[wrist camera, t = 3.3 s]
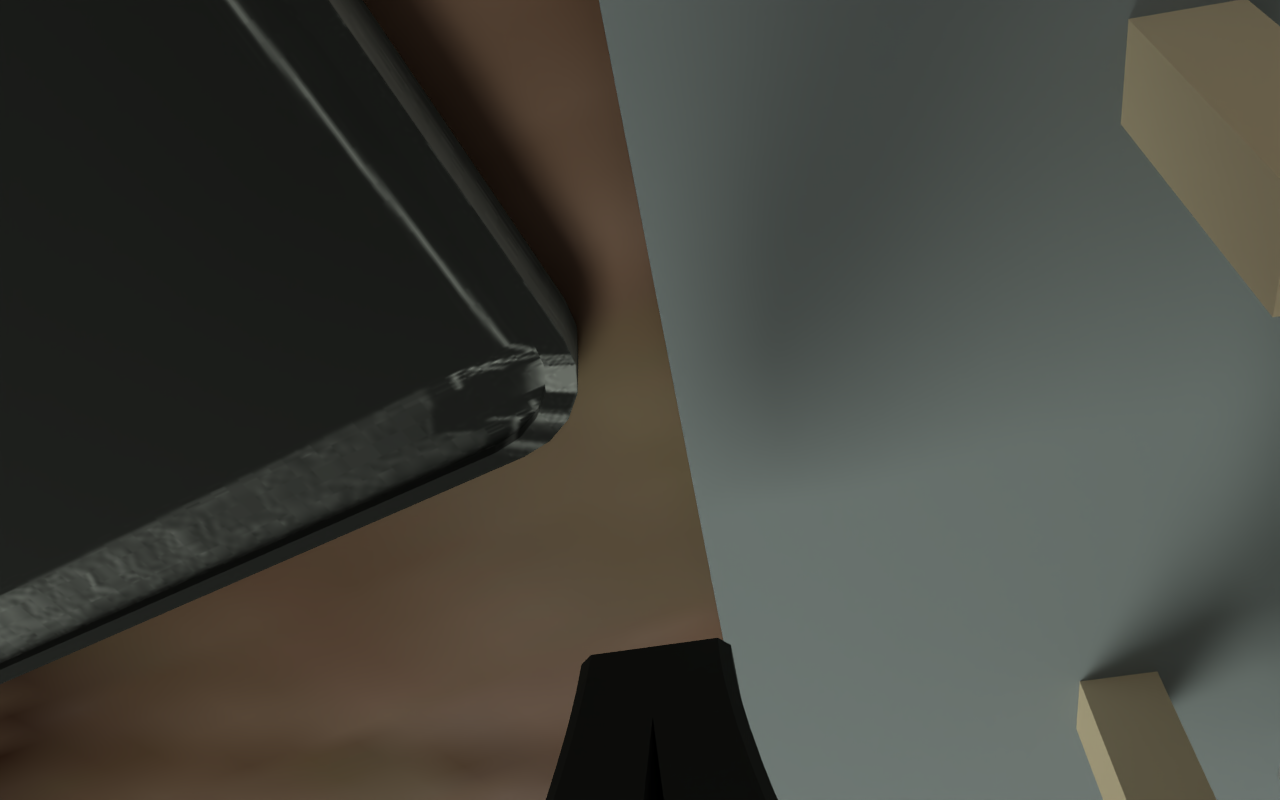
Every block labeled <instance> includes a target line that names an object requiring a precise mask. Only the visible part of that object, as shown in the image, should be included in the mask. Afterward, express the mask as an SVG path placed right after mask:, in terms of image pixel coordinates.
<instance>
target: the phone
mask: <svg viewBox="0 0 1280 800" xmlns="http://www.w3.org/2000/svg"><path fill="white" fill-rule="evenodd" d="M577 391H578V341H577V325H576V323H575V321H574V319H573V317H572V314H571V312H570V310H569V308H568V305H567V303H566V301H565V299H564V297H563V296H562V294H561V293H560V291H559V290H558V289H557V287H556V286H555V284H554V283H553V281H552V280H551V278H550V277H549V275H548V274H547V272H546V271H545V269H544V268H543V266H542V265H541V263H540V262H539V260H538V259H537V257H536V256H535V254H534V253H533V252H532V250H531V249H530V247H529V246H528V244H527V243H526V241H525V240H524V238H523V237H522V235H521V234H520V232H519V231H518V229H517V228H516V226H515V225H514V223H513V222H512V220H511V219H510V218H509V216H508V215H507V213H506V212H505V210H504V209H503V207H502V206H501V204H500V203H499V201H498V200H497V198H496V197H495V195H494V194H493V192H492V191H491V189H490V188H489V186H488V185H487V184H486V182H485V181H484V179H483V178H482V176H481V175H480V173H479V172H478V170H477V169H476V167H475V166H474V164H473V163H472V161H471V160H470V158H469V157H468V155H467V154H466V152H465V151H464V149H463V148H462V147H461V145H460V144H459V142H458V141H457V139H456V138H455V136H454V135H453V133H452V132H451V130H450V129H449V127H448V126H447V124H446V123H445V121H444V120H443V118H442V117H441V115H440V114H439V113H438V111H437V110H436V108H435V107H434V105H433V104H432V102H431V101H430V99H429V98H428V96H427V95H426V93H425V92H424V90H423V89H422V87H421V86H420V84H419V83H418V81H417V80H416V79H415V77H414V76H413V74H412V73H411V71H410V70H409V68H408V67H407V65H406V64H405V62H404V61H403V59H402V58H401V56H400V55H399V53H398V52H397V50H396V49H395V47H394V46H393V44H392V43H391V42H390V40H389V39H388V37H387V36H386V34H385V33H384V31H383V30H382V28H381V27H380V25H379V24H378V22H377V21H376V19H375V18H374V16H373V15H372V13H371V12H370V10H369V9H368V8H367V6H366V5H365V3H364V2H363V0H0V684H2V683H4V682H6V681H8V680H11V679H13V678H15V677H18V676H20V675H22V674H25V673H27V672H29V671H31V670H34V669H36V668H38V667H41V666H43V665H45V664H48V663H50V662H52V661H55V660H57V659H59V658H61V657H64V656H66V655H68V654H71V653H73V652H75V651H78V650H80V649H82V648H84V647H87V646H89V645H91V644H94V643H96V642H98V641H101V640H103V639H105V638H108V637H110V636H112V635H114V634H117V633H119V632H121V631H124V630H126V629H128V628H131V627H133V626H135V625H137V624H140V623H142V622H144V621H147V620H149V619H151V618H154V617H156V616H158V615H161V614H163V613H165V612H167V611H170V610H172V609H174V608H177V607H179V606H181V605H184V604H186V603H188V602H190V601H193V600H195V599H197V598H200V597H202V596H204V595H207V594H209V593H211V592H214V591H216V590H218V589H220V588H223V587H225V586H227V585H230V584H232V583H234V582H237V581H239V580H241V579H243V578H246V577H248V576H250V575H253V574H255V573H257V572H260V571H262V570H264V569H266V568H269V567H271V566H273V565H276V564H278V563H280V562H283V561H285V560H287V559H290V558H292V557H294V556H296V555H299V554H301V553H303V552H306V551H308V550H310V549H313V548H315V547H317V546H319V545H322V544H324V543H326V542H329V541H331V540H333V539H336V538H338V537H340V536H343V535H345V534H347V533H349V532H352V531H354V530H356V529H359V528H361V527H363V526H366V525H368V524H370V523H372V522H375V521H377V520H379V519H382V518H384V517H386V516H389V515H391V514H393V513H396V512H398V511H400V510H402V509H405V508H407V507H409V506H412V505H414V504H416V503H419V502H421V501H423V500H425V499H428V498H430V497H432V496H435V495H437V494H439V493H442V492H444V491H446V490H449V489H451V488H453V487H455V486H458V485H460V484H462V483H465V482H467V481H469V480H472V479H474V478H476V477H478V476H481V475H483V474H485V473H488V472H490V471H492V470H495V469H497V468H499V467H502V466H504V465H506V464H508V463H511V462H513V461H515V460H518V459H520V458H522V457H524V456H526V455H528V454H529V453H531V452H533V451H534V450H536V449H537V448H539V447H541V446H542V445H544V444H546V443H547V442H549V441H550V440H551V439H552V438H553V437H554V435H555V434H556V433H557V432H558V431H559V430H560V428H561V427H562V426H563V425H564V424H565V422H566V421H567V420H568V419H569V416H570V413H571V410H572V407H573V404H574V401H575V399H576V396H577Z"/></svg>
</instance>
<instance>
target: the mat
mask: <svg viewBox="0 0 1280 800" xmlns="http://www.w3.org/2000/svg"><path fill="white" fill-rule="evenodd" d="M599 3H600V8H601V14H602V19H603V24H604V29H605V34H606V39H607V44H608V49H609V55H610V60H611V65H612V70H613V75H614V80H615V85H616V91H617V96H618V101H619V106H620V111H621V116H622V121H623V127H624V132H625V137H626V142H627V147H628V152H629V157H630V163H631V168H632V173H633V178H634V183H635V188H636V193H637V199H638V204H639V209H640V214H641V219H642V224H643V229H644V235H645V240H646V245H647V250H648V255H649V260H650V265H651V270H652V276H653V281H654V286H655V291H656V296H657V301H658V306H659V312H660V317H661V322H662V327H663V332H664V337H665V342H666V348H667V353H668V358H669V363H670V368H671V373H672V378H673V384H674V389H675V394H676V399H677V404H678V409H679V414H680V420H681V425H682V430H683V435H684V440H685V445H686V450H687V456H688V461H689V466H690V471H691V476H692V481H693V486H694V491H695V497H696V502H697V507H698V512H699V517H700V522H701V527H702V533H703V538H704V543H705V548H706V553H707V558H708V563H709V569H710V574H711V579H712V584H713V589H714V594H715V599H716V605H717V610H718V615H719V620H720V625H721V630H722V635H723V641H725V642H726V643H728V644H730V645H731V648H732V653H733V658H734V663H735V669H736V674H737V679H738V684H739V690H740V695H741V699H742V703H743V706H744V710H745V713H746V716H747V719H748V722H749V725H750V729H751V731H752V734H753V737H754V740H755V742H756V745H757V748H758V751H759V754H760V756H761V759H762V762H763V765H764V767H765V770H766V772H767V775H768V777H769V779H770V782H771V784H772V787H773V789H774V792H775V794H776V796H777V799H778V800H1280V0H599Z"/></svg>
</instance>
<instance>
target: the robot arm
mask: <svg viewBox="0 0 1280 800" xmlns="http://www.w3.org/2000/svg"><path fill="white" fill-rule="evenodd" d="M546 800H778V799H777V796H776V794H775V792H774V789H773V787H772V784H771V782H770V779H769V777H768V775H767V772H766V770H765V767H764V765H763V762H762V759H761V756H760V754H759V751H758V748H757V745H756V742H755V740H754V737H753V734H752V731H751V729H750V725H749V722H748V719H747V716H746V713H745V710H744V706H743V703H742V699H741V695H740V690H739V684H738V679H737V674H736V669H735V663H734V658H733V653H732V648H731V645H730V644H728V643H726V642H725V641H723V640H721V639H719V638H713V639H706V640H699V641H691V642H684V643H677V644H669V645H662V646H654V647H647V648H640V649H632V650H625V651H618V652H610V653H603V654H596V655H591V656H590V657H589V658H588V659H587V660H586V661H585V662H584V663H583V664H582V665H581V670H580V676H579V681H578V686H577V691H576V695H575V699H574V704H573V708H572V712H571V716H570V720H569V724H568V728H567V731H566V735H565V739H564V742H563V746H562V749H561V753H560V756H559V759H558V762H557V766H556V769H555V772H554V775H553V779H552V782H551V785H550V789H549V792H548V795H547V798H546Z"/></svg>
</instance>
